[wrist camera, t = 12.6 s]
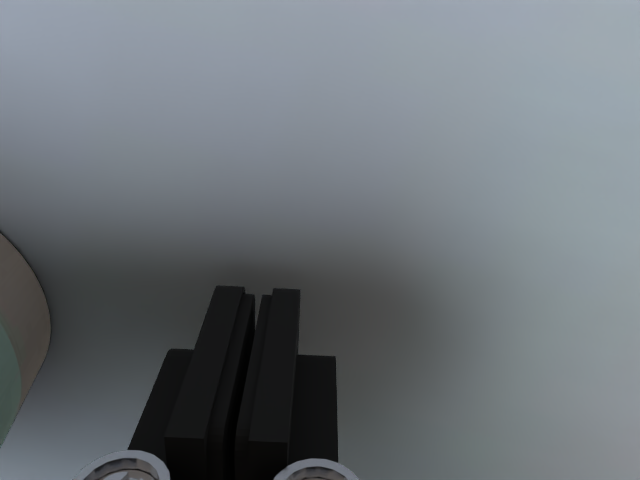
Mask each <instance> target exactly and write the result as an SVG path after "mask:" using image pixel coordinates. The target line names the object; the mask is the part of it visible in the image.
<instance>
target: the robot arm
mask: <svg viewBox="0 0 640 480" xmlns="http://www.w3.org/2000/svg"><path fill="white" fill-rule="evenodd" d="M299 317H300V290H299V289H278V288H274V289H273V294H272V295H262V299H261V305H260V310H259V315H258V320H257V325H256V330H255V295H254V294H245V288H244V287H238V286H218V285H217V286H216V288H215V290H214V293H213V296H212V299H211V302H210V305H209V308H208V311H207V314H206V316H205V319H204V322H203V325H202V328H201V331H200V334H199V337H198V340H197V343H196V345H195V348H194V350H190V349H170V350H169V351H168V353H167V355H166V357H165V359H164V362H163V364H162V367H161V369H160V372H159V374H158V377H157V379H156V381H155V384H154V386H153V389H152V391H151V394H150V396H149V399H148V401H147V403H146V406H145V408H144V411H143V413H142V416H141V418H140V420H139V423H138V425H137V428H136V430H135V433H134V435H133V438H132V440H131V442H130V445H129V447H128V450H124V451H118V452H113V453H109V454H107V455H105V456H102V457H100V458H98V459H95V460H94V461H92V462H91V463H90V464H88V465H87V466H85V467H84V468H82V469H81V471H80V472H79V473H78V474H77V475H76V476H75V477H74V478H73V479H72V480H360V479H359V478H358V477H357V476H356V475H355V474H354V473H353V472H352V471H351V470H349V469H348V468H346V467H345V466H343V465H342V464H340V463H338V432H337V387H336V357H335V356H314V355H298V341H299Z"/></svg>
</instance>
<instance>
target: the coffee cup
mask: <svg viewBox="0 0 640 480" xmlns="http://www.w3.org/2000/svg"><path fill="white" fill-rule="evenodd" d="M50 335H51V322H50V314H49V309H48V305H47V302H46V298H45V296H44V293H43V290H42V288H41V286H40V284H39V282H38V280H37V278H36V276H35V274H34V273H33V271H32V269H31V268H30V266H29V265H28V264H27V262H26V261H25V259H24V258H23V257H22V255H21V254H20V253H19V252H18V251H17V250H16V248H15V247H14V246H13V245H12V244H11V243H10V242H9V241H8V240H7V239H6V238H5V237H4V236H3V235H2V234H1V233H0V447H1V446H2V444H3V442H4V440H5V438H6V436H7V434H8V432H9V430H10V428H11V426H12V424H13V422H14V420H15V418H16V416H17V414H18V412H19V410H20V408H21V406H22V404H23V402H24V400H25V398H26V396H27V394H28V392H29V390H30V388H31V386H32V384H33V382H34V380H35V378H36V376H37V374H38V372H39V370H40V368H41V366H42V364H43V362H44V359H45V357H46V354H47V351H48V348H49V343H50Z"/></svg>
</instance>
